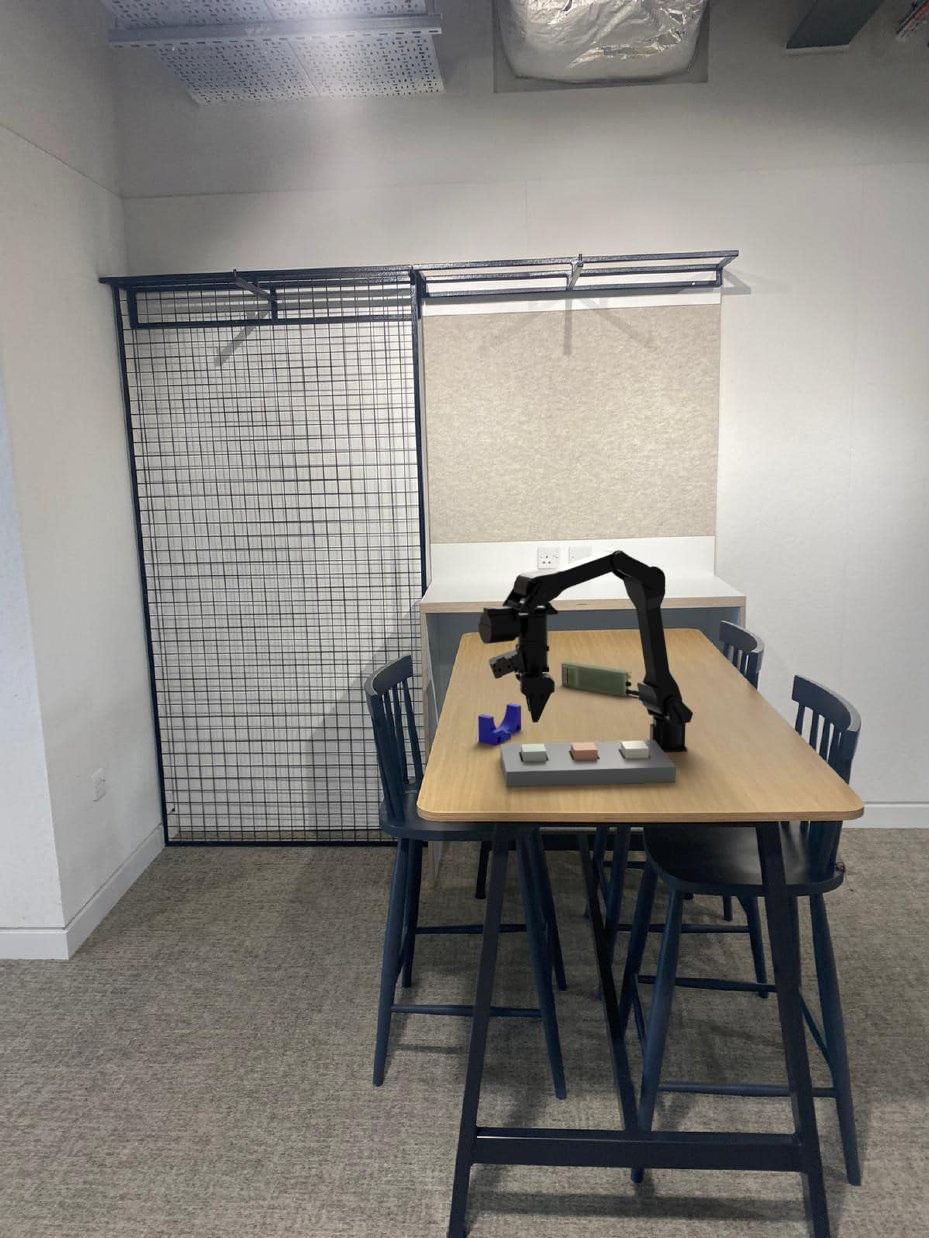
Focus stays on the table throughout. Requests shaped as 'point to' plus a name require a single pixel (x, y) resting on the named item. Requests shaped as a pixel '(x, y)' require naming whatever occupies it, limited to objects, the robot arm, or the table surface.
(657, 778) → the keypad
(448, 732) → the table surface
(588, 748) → the peach square block
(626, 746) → the cream key
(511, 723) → the cable clip
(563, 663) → the handheld radio
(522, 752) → the sage key
